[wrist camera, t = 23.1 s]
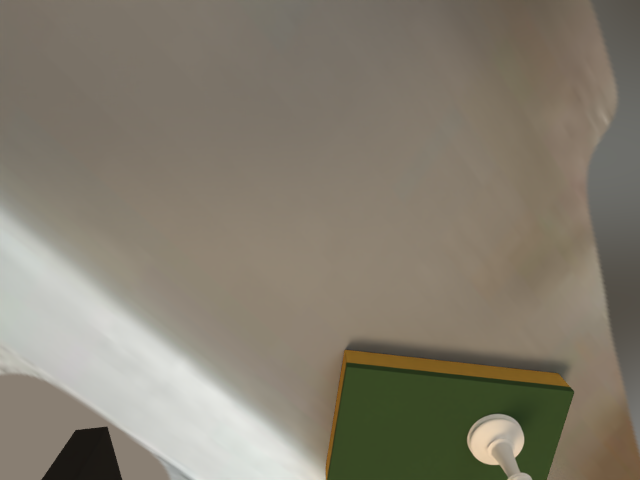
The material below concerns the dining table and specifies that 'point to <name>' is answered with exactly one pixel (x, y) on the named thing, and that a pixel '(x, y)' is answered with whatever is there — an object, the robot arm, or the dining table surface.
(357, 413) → the sponge pad
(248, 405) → the dining table surface
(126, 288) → the dining table surface
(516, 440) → the chess piece
